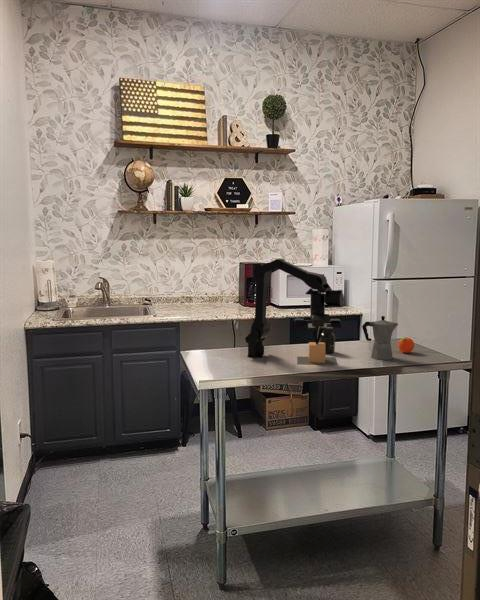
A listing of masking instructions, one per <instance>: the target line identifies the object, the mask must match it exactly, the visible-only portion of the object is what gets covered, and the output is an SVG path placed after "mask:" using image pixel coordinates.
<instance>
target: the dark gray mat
mask: <svg viewBox="0 0 480 600" xmlns="http://www.w3.org/2000/svg"><path fill="white" fill-rule="evenodd" d="M296 364H297V365H307V366H309V365H310V366H311V365H313V366H314V365H315V366H339V364H338V361H337V358H336V357H334V356H333V357H332V356H325V363H314V362H309V356H299V355H298V356H297V357H296Z"/></svg>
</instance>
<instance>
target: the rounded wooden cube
mask: <svg viewBox="0 0 480 600" xmlns="http://www.w3.org/2000/svg"><path fill="white" fill-rule="evenodd" d="M308 357H309V362H314V363H325V357H326V354H325V343H323V342H319V343H318V344H316V342H315V341H313V342H311V341H309V342H308Z"/></svg>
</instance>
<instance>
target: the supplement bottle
mask: <svg viewBox="0 0 480 600" xmlns="http://www.w3.org/2000/svg"><path fill="white" fill-rule="evenodd" d="M326 328H327V329H325V330H324V331H323V332H322V334H321V337H320V340H319V342H323V343H325V355H331V354H335V351H336V350H335V349H336V347H335V345H336V335H335V334H334V328H333V327H332V326H326Z"/></svg>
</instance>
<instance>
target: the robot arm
mask: <svg viewBox="0 0 480 600" xmlns="http://www.w3.org/2000/svg"><path fill="white" fill-rule="evenodd" d="M279 270H280V271H282V272H284V273H286V274H288V275H290V276H293V277H295V278H297V279H298V280H300V281H302V282H303V283H304V284H305V285H307V286H308V287H310V288H309V289H308V290H307V291H306V292H305V295H310V311H309V312H310V313H309V315H310V319H309V320H307V319H306V320H304V319H305V318H301V317H300V318H297V317H295V318H294V320H293V324H294V325H293V326H294V328H303V327H304V326H307V329H308V330H311V332H312V335H313V338H314V342H316V344H318V343H319V340H320V337H321V334H322V332H323V331H324V330H325V329H327V328H326V327H328V326H330V327H332V328H333V329H335V328H339V329H340V328H342V321H341V319H340V318H330V314H329V313H325V311H326V310H325V308H326V307H325V306H327V307H330V308H332V307H333V308H343V306H345V305H344V304H345V296H344V295H345V294H344V292H343V289H337V290H336V289H332V288H331V286H330V285H329V283H328V279H327V277H326V276H325V275H324V274H320V273H317V272H311V271H309V270H308V271H307V270H305V269H303V268H301V267H299V266H297V265H295V264H293V263H291V262H288V261H286V260H285V259H283V258H276V259H275V260H272V261H270V262H267V263H264V264H263V263H262V264H257V265H254V267H253V269H252V275H253V280H254V283H255V289H256V290H255V308H254V319H253V322H252V324H251V328H250V331H249V332H250V333H248V335H247V336H245V339H244V340H245V342H246V344H247V357H248V358H263V356H264V355H265V344H264V342H265V340H266V337H267V336H269V333H270V332H271V322H270V321H269V322H268V321H267V317H266V316H267V299H268V285H269V283H270V281H271V277H272V273H275V272H277V271H279ZM317 327H318V329H317Z"/></svg>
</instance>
